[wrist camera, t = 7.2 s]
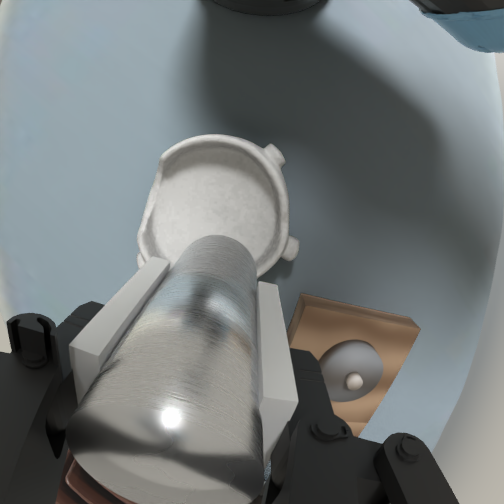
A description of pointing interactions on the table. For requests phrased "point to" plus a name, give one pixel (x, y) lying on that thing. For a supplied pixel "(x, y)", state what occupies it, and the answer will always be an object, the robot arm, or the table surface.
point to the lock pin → (181, 389)
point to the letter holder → (84, 487)
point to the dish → (218, 200)
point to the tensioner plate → (353, 325)
